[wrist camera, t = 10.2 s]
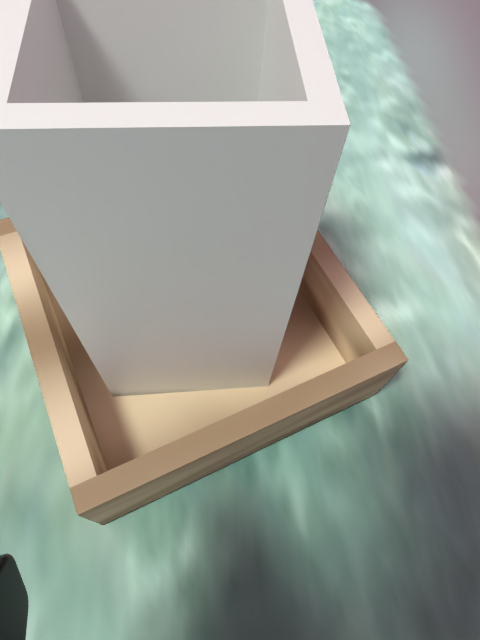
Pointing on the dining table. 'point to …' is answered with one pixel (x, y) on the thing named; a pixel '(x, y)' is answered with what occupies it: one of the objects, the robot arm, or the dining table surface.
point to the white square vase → (169, 176)
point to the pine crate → (195, 406)
